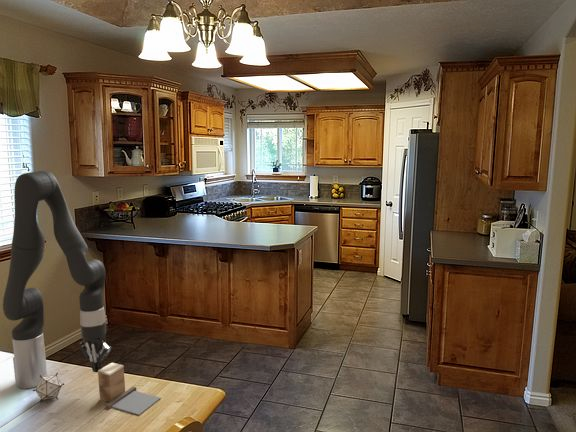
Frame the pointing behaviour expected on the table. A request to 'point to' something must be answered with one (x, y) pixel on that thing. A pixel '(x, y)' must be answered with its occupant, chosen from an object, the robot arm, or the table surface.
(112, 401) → the stop strip
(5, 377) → the table surface
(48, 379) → the game die
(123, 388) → the walnut block
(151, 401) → the slate-grey rubber mat
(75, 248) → the robot arm
